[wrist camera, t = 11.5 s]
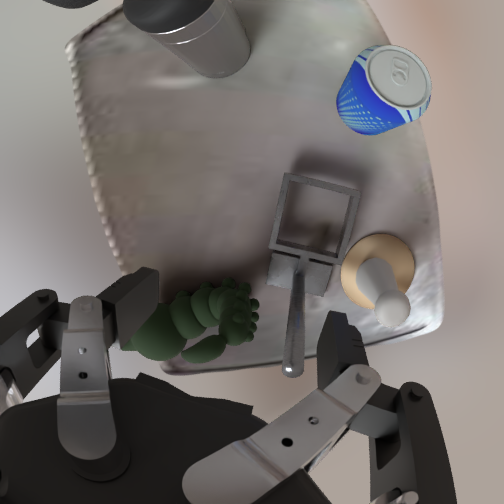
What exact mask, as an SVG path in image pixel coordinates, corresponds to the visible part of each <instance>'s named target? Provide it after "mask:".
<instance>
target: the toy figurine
mask: <svg viewBox="0 0 504 504" xmlns="http://www.w3.org/2000/svg"><path fill="white" fill-rule="evenodd" d="M235 285H236V284H235V281H234V280H233V279H231V278H226V279H224V280H223V281H222V287H218V288H216V289H215V288H213V287H212V284H211V283H210V282H203V283H202V284H201V285H200V289H199V290H198V291H196V292H195V293H194V294H193V295H192V296H190V294H189V293H188V292H187V291H179V292H178V293H177V294H176V298H175V299H176V300H174V301H173V302H172V303H171V304H170V305H167V304H164V303H158V305H157V308H156V310H155V311H154V312H153V314H152V315H151V316H150V317H149V318H148V319H147V320H146V321H145V323H144V324H143V325H142V326H141V327H140V328H139V329H138V330H137V332H136V333H135V334H134V335H133V336H132V337H131V338H130V340H129V341H128V342H127V343H126V344H125V345H124V346H123V348H122V349H121V350H123V351H138V352H139V353H140V354H142V355H143V356H145V357H146V358H148V359H151V360H155V361H165V360H169V359H171V358H173V357H175V356H177V355H178V354H179V353H180V352H181V351H182V350H183V348H184V347H185V345H186V342H187V339H193V338H196V337H198V336H200V335H201V334H202V333H204V331H205V330H206V328H207V327H214V326H217V325H219V335H211V336H208V337H206V338H204V339H202V340H201V341H200V342H198V343H197V344H195V345H193V346H192V347H190V348H188V349H186V350H184V351H182V352H181V356H182V358H183V359H184V360H186V361H187V362H190V363H205V362H209V361H211V360H214V359H216V358H217V357H219V356H220V355H221V354H222V353H223V352H224V350H225V348H226V344H228V345H231V346H237V345H240V344H242V343H243V342H245V341H246V342H250V341H252V340H253V338H254V335H253V333H254V332H255V331H256V329H257V326H256V324H255V323H254V322H257V321H258V319H259V315H258V313H257V312H252V311H255V310H257V309H258V308H259V302H258V300H257V299H254V298H252V299H249V297H248V294H249V293H250V292H251V287H250V284H248V283H247V282H244V283H241V284H240V285H239V289H234V288H235Z"/></svg>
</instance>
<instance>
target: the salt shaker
mask: <svg viewBox="0 0 504 504" xmlns="http://www.w3.org/2000/svg"><path fill="white" fill-rule="evenodd" d="M356 284H357V287H358V289H359V290H360V291H361V292H362V293H363V294H364V295H365V296H366V297H367V298H368V299H369V300H370V301H371V302H372V303H373V304H374V305H375V308H374V312H375V315H376V318H377V320H378V321H379V322H380V323H381V324H382V325H383V326H384V327H390V328H392V327H396V326H399V325H400V324H402V323H403V322H405V320H406V319H407V317H408V316H409V314H410V309H411V307H410V303H409V299H408V297H407V296H406V295H405V294H404V293H402V292H401V291H399V290H398V286H397V282H396V279H395V276H394V272H393V269H392V266H391V265H390V264H389V263H388V262H387V261H386V260H384V259H380V258H377V257H376V258H372V259H368V260H366V261H365V262H364V263H362V264H361V265H360V267H359V269H358V270H357V272H356Z"/></svg>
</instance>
